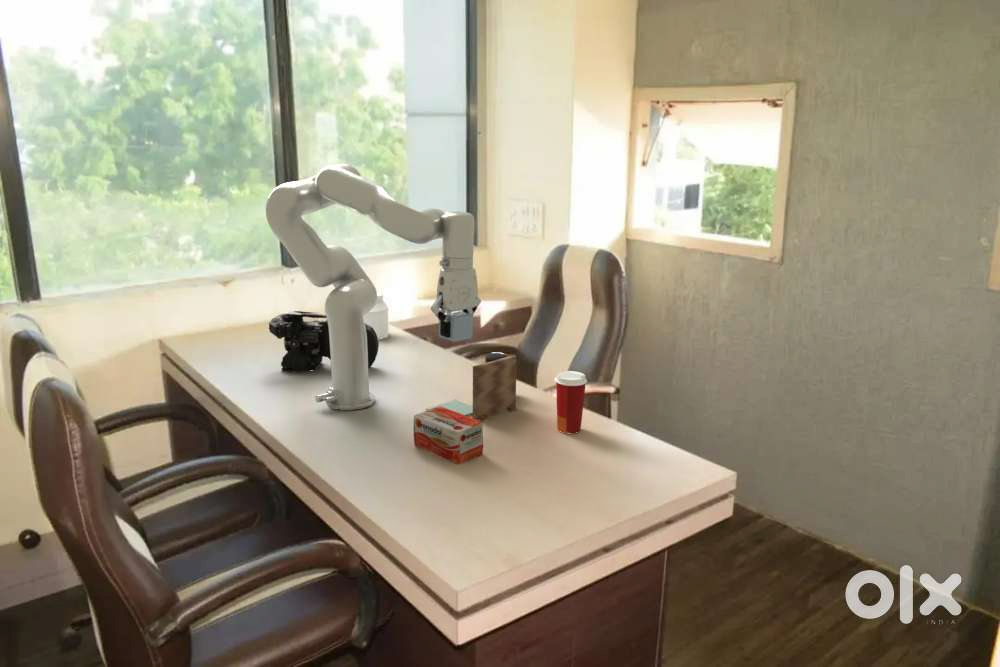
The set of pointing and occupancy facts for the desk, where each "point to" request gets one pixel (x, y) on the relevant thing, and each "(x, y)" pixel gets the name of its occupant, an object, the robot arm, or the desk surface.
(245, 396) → the desk surface
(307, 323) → the movie camera
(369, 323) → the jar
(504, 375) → the screen
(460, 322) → the letter cube
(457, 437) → the medicine box
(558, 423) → the paper cup
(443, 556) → the desk surface
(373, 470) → the desk surface
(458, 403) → the pad
